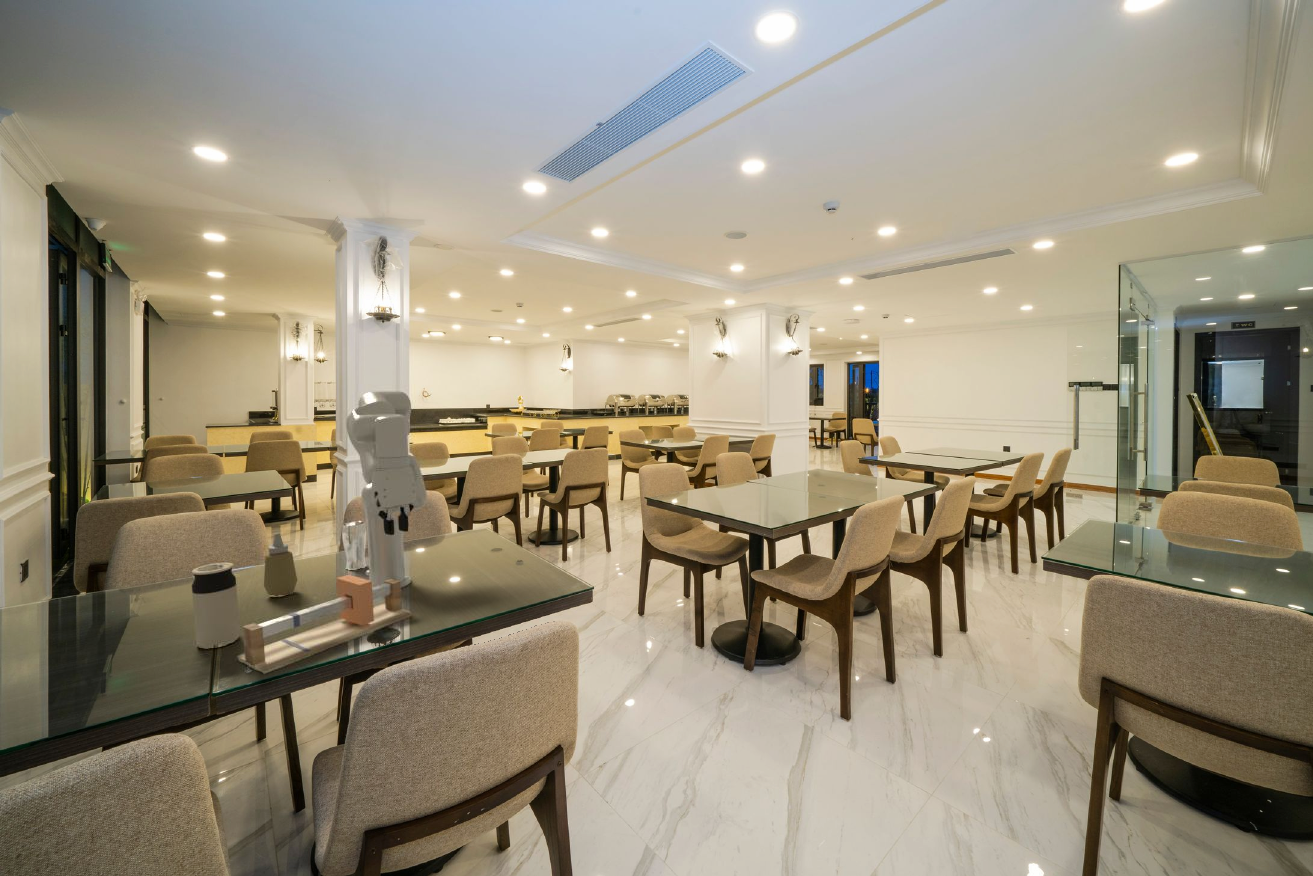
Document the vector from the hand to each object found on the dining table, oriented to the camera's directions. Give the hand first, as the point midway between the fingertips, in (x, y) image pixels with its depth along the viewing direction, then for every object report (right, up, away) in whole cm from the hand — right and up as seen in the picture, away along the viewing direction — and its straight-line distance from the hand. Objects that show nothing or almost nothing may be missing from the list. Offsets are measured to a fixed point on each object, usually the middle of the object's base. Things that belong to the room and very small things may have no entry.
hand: (396, 531), depth 144 cm
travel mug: (-34, -23, -16) cm, 44 cm away
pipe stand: (-9, -23, -14) cm, 28 cm away
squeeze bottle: (-40, -21, +14) cm, 47 cm away
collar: (-6, -20, -9) cm, 23 cm away
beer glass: (-32, -19, +38) cm, 53 cm away
